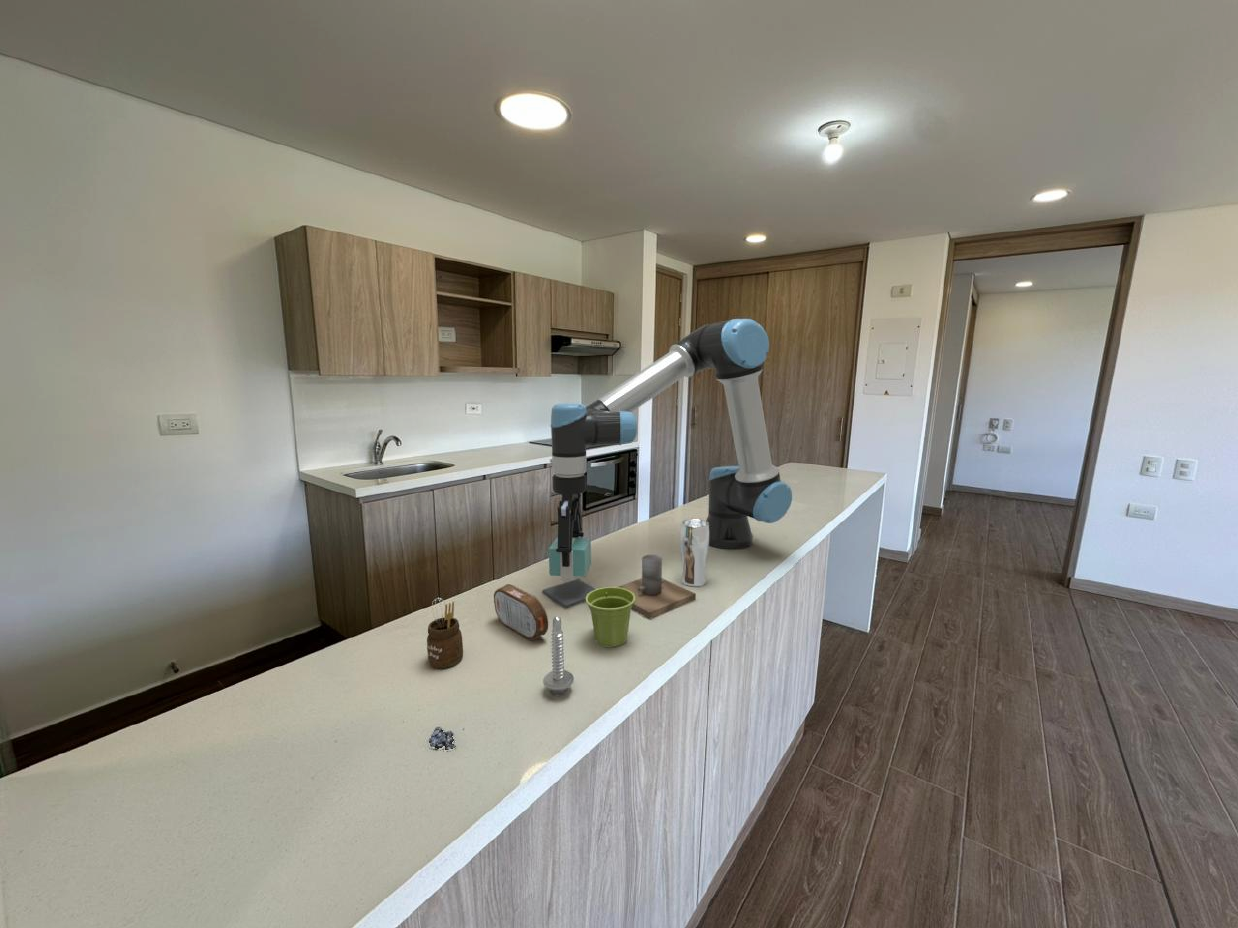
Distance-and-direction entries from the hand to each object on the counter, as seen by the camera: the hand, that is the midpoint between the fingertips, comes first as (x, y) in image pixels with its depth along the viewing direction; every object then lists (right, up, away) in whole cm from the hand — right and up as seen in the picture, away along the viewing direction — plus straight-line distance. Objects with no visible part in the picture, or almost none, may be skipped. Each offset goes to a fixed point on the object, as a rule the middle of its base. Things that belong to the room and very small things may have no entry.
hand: (571, 571), depth 111 cm
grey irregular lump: (-13, -15, -44) cm, 48 cm away
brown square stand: (+18, -6, -1) cm, 19 cm away
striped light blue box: (0, 0, 0) cm, 0 cm away
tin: (-9, -9, -15) cm, 19 cm away
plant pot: (+9, -9, -18) cm, 22 cm away
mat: (0, -6, +1) cm, 6 cm away
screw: (+1, -12, -33) cm, 35 cm away
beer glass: (+29, -4, +8) cm, 31 cm away
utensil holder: (-20, -11, -25) cm, 33 cm away
